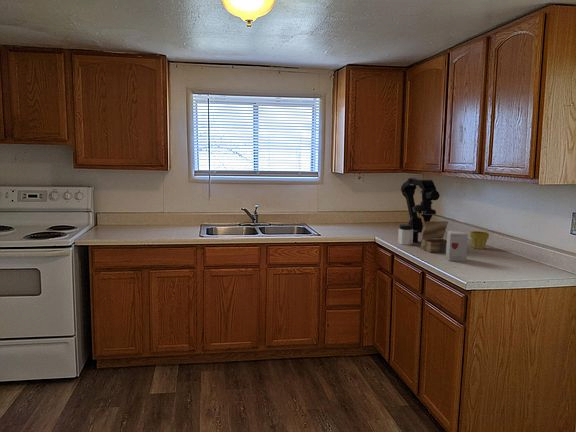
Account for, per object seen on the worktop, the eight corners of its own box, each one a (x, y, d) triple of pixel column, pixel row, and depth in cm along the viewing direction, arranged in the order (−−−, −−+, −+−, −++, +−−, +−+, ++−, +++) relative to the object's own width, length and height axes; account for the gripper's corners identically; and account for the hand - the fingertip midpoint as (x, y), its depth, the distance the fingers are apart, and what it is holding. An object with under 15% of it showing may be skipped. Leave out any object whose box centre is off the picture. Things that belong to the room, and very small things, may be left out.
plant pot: (479, 246, 302) (480, 230, 301) (491, 249, 292) (492, 233, 291) (465, 247, 298) (466, 231, 297) (478, 250, 289) (479, 234, 288)
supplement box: (448, 261, 258) (450, 233, 256) (445, 257, 267) (446, 230, 265) (466, 261, 257) (467, 233, 255) (462, 258, 265) (464, 231, 264)
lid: (421, 239, 289) (421, 238, 290) (442, 238, 292) (442, 237, 293) (426, 222, 283) (426, 221, 283) (448, 221, 286) (447, 221, 286)
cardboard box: (420, 248, 290) (421, 239, 289) (441, 248, 293) (442, 238, 292) (430, 253, 278) (431, 243, 278) (452, 252, 281) (453, 242, 281)
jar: (398, 244, 304) (399, 225, 302) (397, 242, 312) (398, 223, 310) (412, 245, 302) (413, 226, 300) (412, 242, 310) (413, 224, 308)
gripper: (409, 200, 306) (409, 225, 306) (417, 200, 287) (417, 226, 288) (427, 200, 306) (427, 224, 306) (436, 200, 287) (436, 226, 288)
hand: (426, 225), depth 297 cm, fingers closed
